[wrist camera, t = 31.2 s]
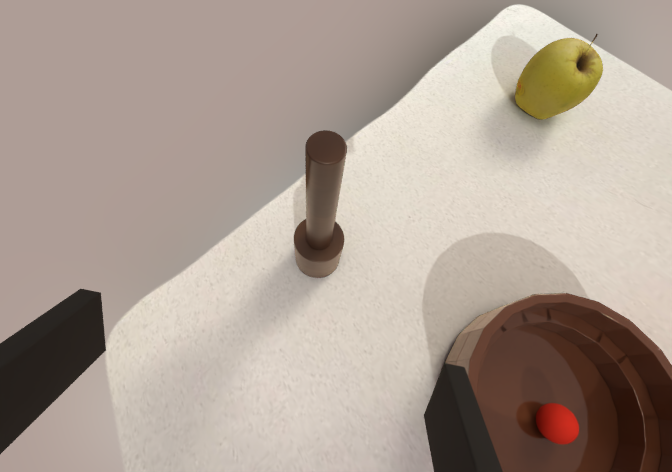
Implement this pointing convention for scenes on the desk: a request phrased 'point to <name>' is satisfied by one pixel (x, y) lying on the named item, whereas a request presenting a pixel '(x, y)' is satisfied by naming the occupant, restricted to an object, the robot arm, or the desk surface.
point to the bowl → (569, 385)
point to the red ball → (557, 423)
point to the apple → (558, 78)
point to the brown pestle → (321, 206)
